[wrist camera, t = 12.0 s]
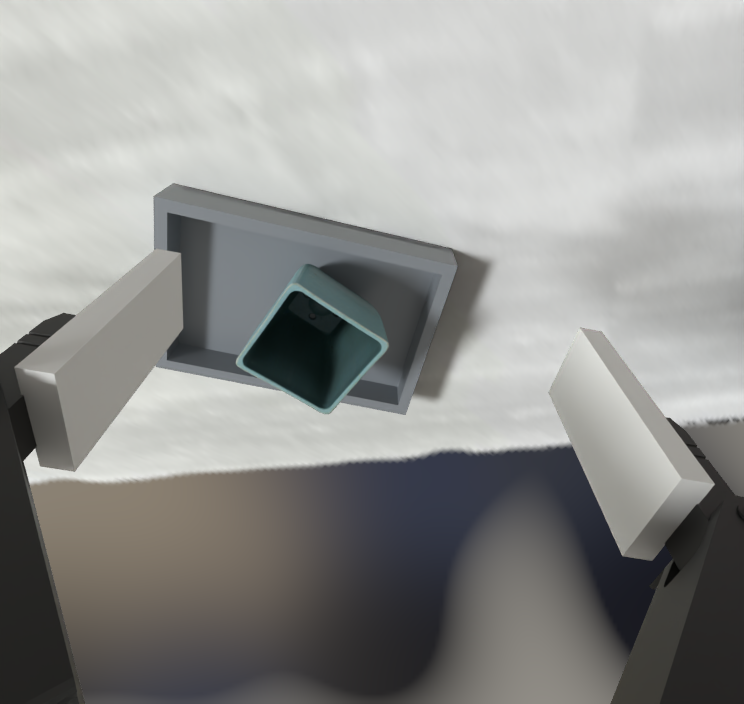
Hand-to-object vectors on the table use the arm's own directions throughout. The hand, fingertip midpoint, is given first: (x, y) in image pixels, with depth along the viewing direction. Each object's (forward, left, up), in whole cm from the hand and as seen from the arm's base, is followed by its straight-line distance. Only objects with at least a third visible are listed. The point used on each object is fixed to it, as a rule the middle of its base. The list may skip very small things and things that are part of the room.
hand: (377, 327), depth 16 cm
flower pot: (+2, +13, -26) cm, 29 cm away
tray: (+4, +13, -27) cm, 30 cm away
